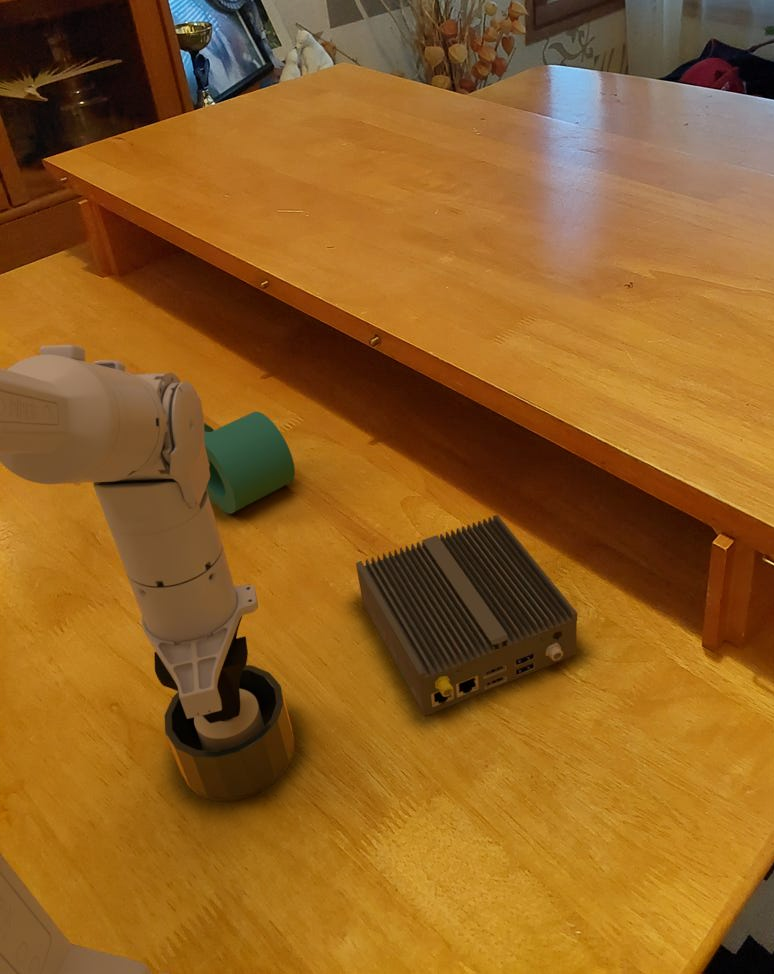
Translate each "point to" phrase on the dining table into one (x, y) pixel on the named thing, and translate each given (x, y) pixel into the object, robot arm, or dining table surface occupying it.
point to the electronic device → (466, 613)
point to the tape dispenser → (246, 461)
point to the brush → (231, 726)
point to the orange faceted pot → (241, 765)
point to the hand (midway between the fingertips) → (222, 704)
